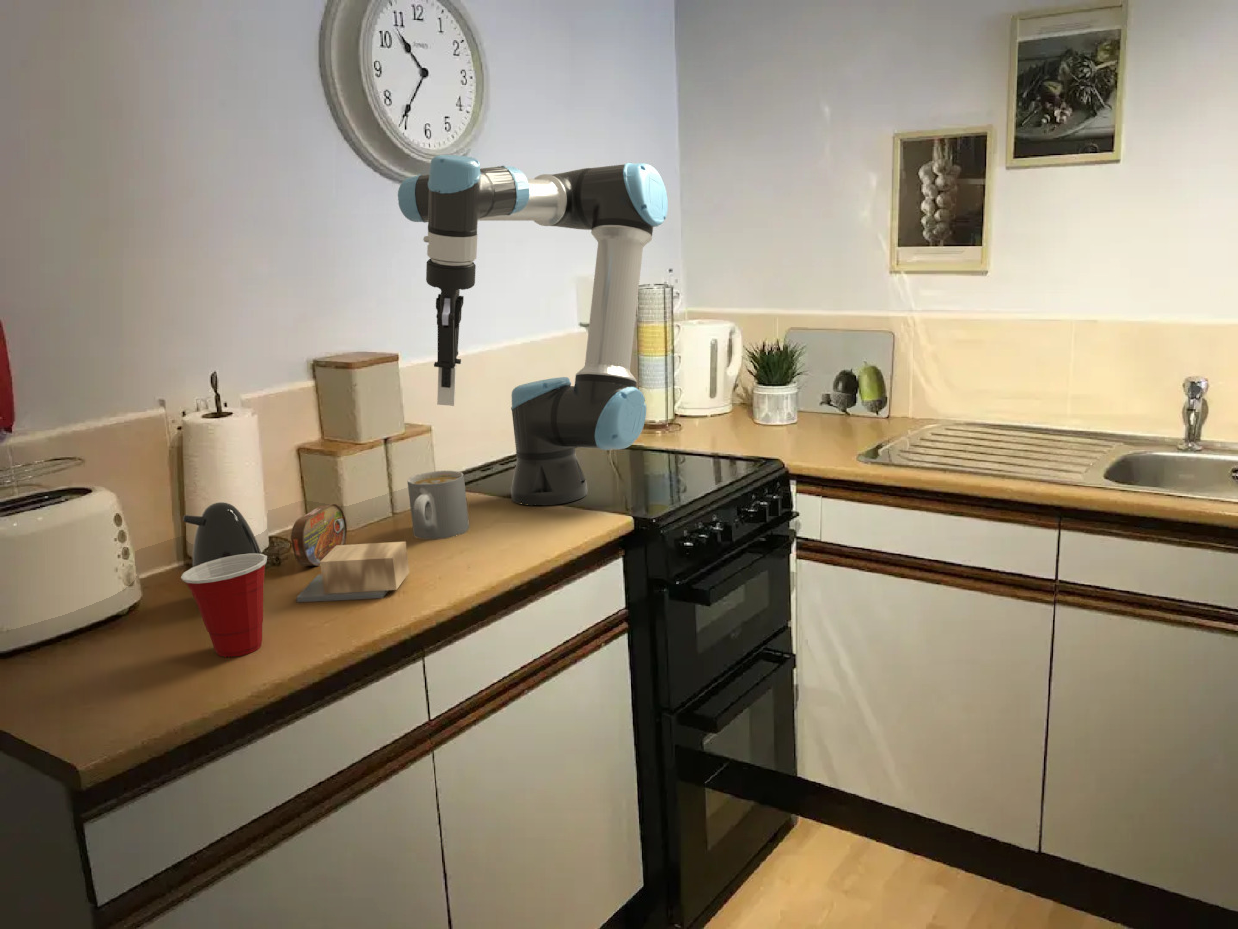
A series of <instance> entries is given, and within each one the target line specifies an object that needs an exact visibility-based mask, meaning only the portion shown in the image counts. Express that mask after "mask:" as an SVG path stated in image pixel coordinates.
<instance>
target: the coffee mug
mask: <svg viewBox="0 0 1238 929" xmlns="http://www.w3.org/2000/svg"><path fill="white" fill-rule="evenodd" d="M464 476H465V475H464V473H463V472H461V471H459V470H458V471H457V470H456V471H455V470H437V471H436V470H434V471H427V472H423V473H419V474H416V475H413V476H411V477H409V478H408V479H407V489H408V496H409V507H410V514H411V523H412V532H413V536H414V537H415V538H418V539H422V540H441V539H449V538H453V536H454V537H457V536H456V535H458V536H460V535H462V534H465V533H466V531H467V530H468V529H469V530H470V524H469V513H468V511H469V510H468V504H467V495H466V484H465V477H464ZM469 530H468V531H469ZM468 531H467V532H468ZM459 534H460V535H459Z"/></svg>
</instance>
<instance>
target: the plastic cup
mask: <svg viewBox="0 0 1238 929" xmlns="http://www.w3.org/2000/svg"><path fill="white" fill-rule="evenodd" d="M267 559H268V556H267V554H263V553H261V554H252V553H251V554H242V555H234V556H229V557H224V558H220V559H216V560H213V561H209V562H206V563H203V564H200V565H198V566H195V567H193V566H192V567H190V568H189V569H187V570H186V571H184V572H182V574H181V577H180V578H181V580H182V581H183V582H184V583H185V584H186V585H187V587H188V588H189V590H190V593H191V594H192V596H193V598H194V600H195V603H196V606H197V608H198V610H199V613H200V616H201V618H202V621H203V624H204V626H205V629H206V631H207V632H208V635H209V637H210V640H211V644H212V646H213V649H214V650H215V652H216V654H217V656H219V657H222V656H224V657H223V658H235V657H234V656H236V657H241V656H246V655H250V654H252V653H254V652H255V651H258V650H259V649H260V648H261V647H262V642H263V624H264V623H263V622H264V581H265V571H266V564H267V561H268V560H267ZM264 568H265V569H264ZM227 656H228V657H227ZM230 656H231V657H230ZM232 656H233V657H232Z"/></svg>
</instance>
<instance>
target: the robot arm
mask: <svg viewBox="0 0 1238 929" xmlns="http://www.w3.org/2000/svg"><path fill="white" fill-rule="evenodd" d="M663 181H664V180H663V178H662V177H661V174H660V173H659V171H658V170H657V169H656V168H655V167H653V166H652V165H650V164H648V163H643V162H641V163H639V162H638V163H632V162H627V163H625V164H616V165H607V166H599V167H598V166H596V167H588V168H587V167H586V168H581V169H575V170H570V171H565V172H560V173H554V174H539V175H538V176H536V177H534V178H527V176H526V175H525V173H524V172H523V171H522V170H521V169H519V168H517V167H515V166H506V165H500V166H498V165H497V166H493V167H492V166H491V167H484V168H483V167H482V168H481V164H480V161H479V160H478V159H476V157H471V156H467V155H466V156H464V155H454V154H450V155H449V154H440V155H439V154H438V155H435V156H433V158H432V159H431V160H430V163H429V174H417V175H416V176H410V177H407V178H404V180H403V181H402V182H401V183H400V185H399V188H398V190H397V200H398V203H397V204H398V206H399V209H400V211H401V213H402V215H403V217H405V218H406V219H407V220H409V221H410V222H414V223H425V224H426V223H427V235H425V236H423V239H422V240H423V242H424V243H428V244H427V248H426V250H427V251H426V255H427V257H428V258H429V259H428V260H427V261H426V267H425V268H426V270H425V272H426V275H425V278H426V279H425V281H426V283H427V285H429V286H430V287H433V288H437V289H439V290H440V293H438V295H437V297H436V298H435V299H436V300H435V309H436V312H437V313H436V316H435V317H436V325H437V361H434V363H433V367H434V368H438V372H437V397H436V398H437V404H436V405H439V406H450V407H451V406H452V407H455V404H456V388H457V387H456V386H457V365H461V363H462V359H461V358H457V357H458V356H459V340H460V339H459V336H460V334H459V333H460V323H461V321H462V312H463V311H462V308H463V307H464V306H463V305H464V301H465V300H464V295H460V290H462V291H463V290H469V289H472V288H473V287H474V286H475V284H476V268H477V267H476V264H475V262H474V261H475V260H476V259H477V252H478V251H477V250H478V221H485V222H486V221H490V222H491V221H493V222H494V221H496V222H499V221H502V222H503V221H504V222H505V221H509V222H510V221H513V222H514V221H519V222H521V221H522V222H523V221H532V222H534V223H536V224H538V225H539V226H542V227H558V228H565V229H574V230H585V231H590V230H591V232H590V234H591V235H592V236H593V238H594V239H595V241H596V242H597V248H596V249H597V250H596V257H595V258H596V259H595V266H594V268H595V269H594V275H593V276H594V278H593V287H592V294H591V296H592V297H591V305H590V306H591V307H590V312H589V313H590V314H589V316H590V317H589V324H588V333H587V334H588V335H587V343H586V351H585V360H584V361H585V362H584V366H583V367H582V368H581V369H580V370H579V371H578V372H577V373H575V378H574V385H572V382H571V380H570V378H569V377H566V376H562V377H561V376H559V377H553V378H548V379H542V380H537V381H531V382H527V383H523V384H520V385H517V386H515V387H514V388H513V390H512V391H511V408H510V410H511V416H512V423H513V424H512V426H513V433H514V443H515V453H516V454H515V455H516V464H515V468H514V472H513V477H512V482H511V486H510V497H511V500H512V502H513V503H515V502H516V503H515V504H518V503H522V504H521V505H523V504H528V505H527V506H533V505H543V506H554V505H562V504H567V503H570V502H574V501H575V502H576V501H578V500H580V499H582V498H585V497H586V496H587V495H588V483H587V479H586V478H585V474H584V472H583V470H582V468H581V465H580V462H579V460H578V458H577V455H576V453H577V452H576V448H582V449H583V448H585V449H586V448H587V449H598V450H604V451H611V450H624V449H627V448H630V446H632V445H633V444H634V443H635V441H637V440H638V438H639V437H640V435H641V433H642V431H643V429H644V427H645V426H644V425H645V424H646V423H645V422H646V418H647V404H646V403H645V401H646V399H645V398H646V397H645V396H644V393H643V392H642V391H641V390H640V389H638V388H637V385H638V384H637V383H638V382H637V381H638V380H637V379H636V378H635V376H634V375H633V374H632V373H631V364H632V355H633V354H632V353H633V345H634V344H633V343H634V336H635V325H636V316H637V305H638V299H639V288H640V280H641V269H642V259H643V252H644V251H643V249H644V247H645V246H646V245H647V244H649V243H650V242H651V241H652V239H653V231H654V227H656V228H657V227H659V226H660V225H662V224H663V223H665V220H666V218H667V215H668V210H669V206H668V205H669V204H668V195H667V193H668V192H667V189H666V186H665V184H664V182H663Z"/></svg>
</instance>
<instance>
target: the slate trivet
mask: <svg viewBox="0 0 1238 929" xmlns="http://www.w3.org/2000/svg"><path fill="white" fill-rule="evenodd" d="M388 592H389V590H383V591H364V592H345V593H325V594H324V587H323V580H322V574H317V575H316V577H314V579H313V580H312V581H311V582H310V583H309V584H308V585H307V586H306V587H304V589H302V591H301V592H300V593H298V595H297V596H296V602H297V603H310V602H330V601H349V600H350V601H352V600H366V599H367V600H368V599H383V598H384V597H385V595H386V594H387V593H388Z"/></svg>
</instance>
